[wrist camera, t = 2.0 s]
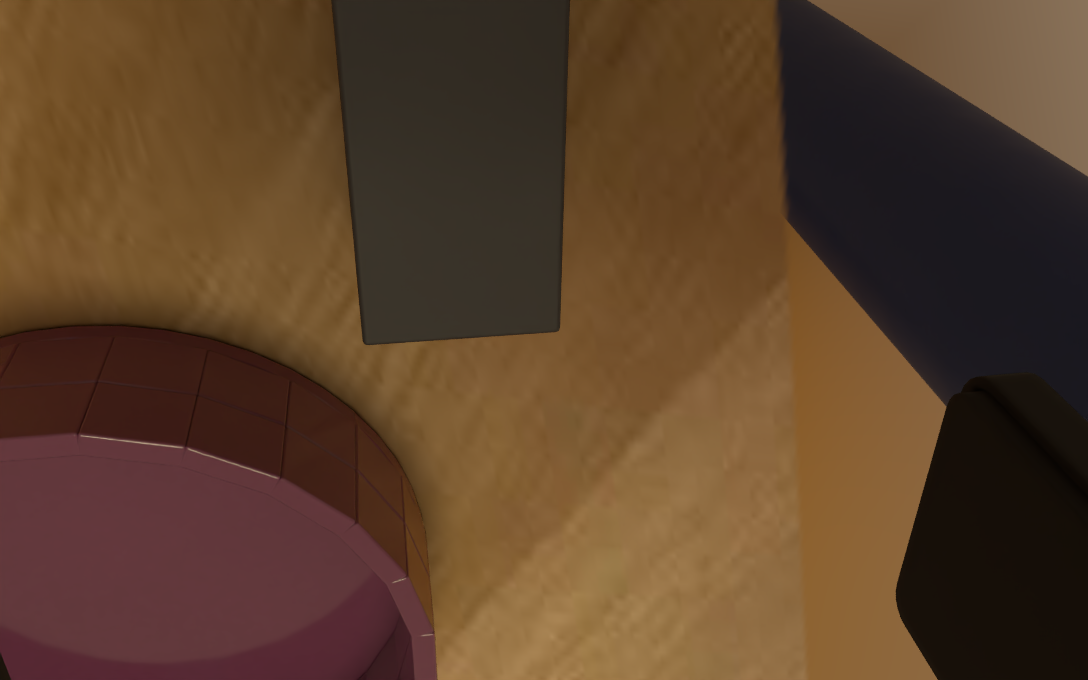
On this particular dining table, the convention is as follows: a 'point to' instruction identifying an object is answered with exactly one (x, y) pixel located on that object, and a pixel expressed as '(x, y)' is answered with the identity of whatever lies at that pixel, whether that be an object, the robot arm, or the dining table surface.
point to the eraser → (455, 163)
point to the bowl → (198, 519)
